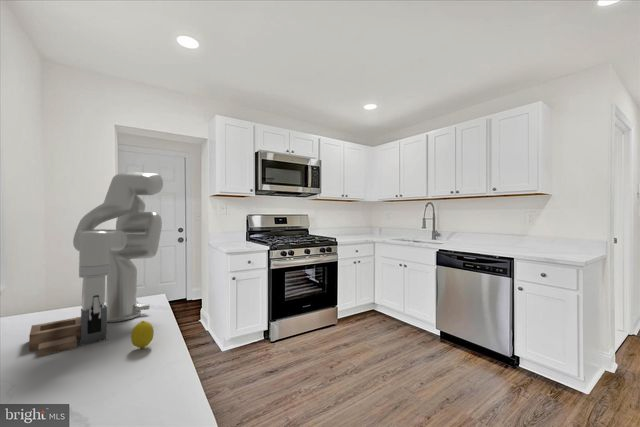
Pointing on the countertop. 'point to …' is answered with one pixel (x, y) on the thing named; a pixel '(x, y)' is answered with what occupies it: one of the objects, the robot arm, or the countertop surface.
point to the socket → (55, 336)
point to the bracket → (93, 337)
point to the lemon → (142, 334)
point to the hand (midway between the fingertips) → (93, 329)
